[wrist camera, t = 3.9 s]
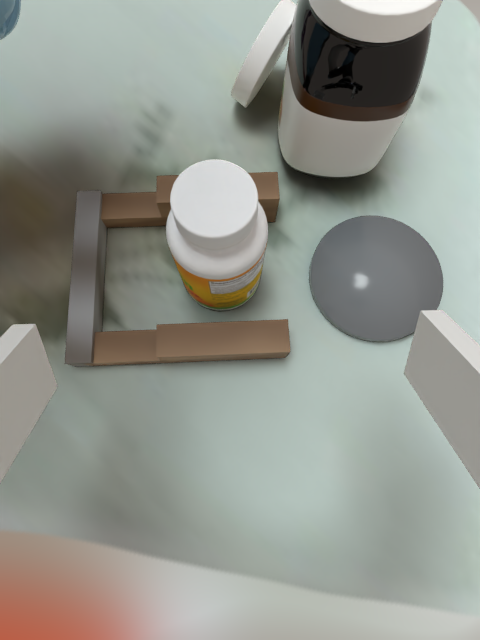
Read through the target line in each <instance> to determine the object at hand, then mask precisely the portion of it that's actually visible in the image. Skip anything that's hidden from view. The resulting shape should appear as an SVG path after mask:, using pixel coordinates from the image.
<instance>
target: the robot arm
mask: <svg viewBox="0 0 480 640" xmlns="http://www.w3.org/2000/svg"><path fill="white" fill-rule="evenodd" d="M20 7H21V0H0V40H1V39H3V38H4V37H6V36H7V35H8V34H10V33H11V32H12V30H13V29H14V28H15V26H16V24H17V22H18V19H19V14H20ZM404 375H405V376H406V378H407V379H408V381H409V382H410V384H411V385H412V387H413V388H414V390H415V391H416V393H417V394H418V396H419V397H420V399H421V400H422V402H423V404H424V405H425V407H426V408H427V410H428V411H429V413H430V414H431V416H432V417H433V419H434V420H435V422H436V423H437V425H438V426H439V428H440V429H441V431H442V432H443V434H444V435H445V437H446V438H447V440H448V441H449V443H450V444H451V446H452V447H453V449H454V451H455V452H456V454H457V455H458V457H459V458H460V460H461V461H462V463H463V464H464V466H465V467H466V469H467V470H468V472H469V473H470V475H471V476H472V478H473V479H474V481H475V482H476V484H477V485H478V487H479V488H480V345H479V344H478V343H477V342H476V341H475V340H474V339H473V338H471V337H470V336H469V335H468V334H467V333H466V332H465V331H464V330H463V329H462V328H461V327H460V326H459V325H458V324H457V323H456V322H455V321H454V320H453V319H451V318H450V317H449V316H448V315H447V314H446V313H445V312H444V311H443V310H424V311H420V314H419V318H418V322H417V325H416V329H415V333H414V337H413V340H412V344H411V348H410V352H409V355H408V359H407V363H406V367H405V370H404ZM57 387H58V385H57V382H56V379H55V377H54V374H53V371H52V368H51V365H50V363H49V360H48V357H47V354H46V351H45V349H44V346H43V343H42V340H41V337H40V335H39V332H38V329H37V326H36V324H14V325H12V326H11V327H10V328H9V329H8V330H7V331H6V332H5V333H4V334H3V335H2V336H1V337H0V483H1V482H2V480H3V478H4V477H5V475H6V473H7V471H8V470H9V468H10V466H11V465H12V463H13V461H14V460H15V458H16V456H17V455H18V453H19V451H20V450H21V448H22V446H23V445H24V443H25V441H26V439H27V438H28V436H29V434H30V433H31V431H32V429H33V428H34V426H35V424H36V423H37V421H38V419H39V418H40V416H41V414H42V413H43V411H44V409H45V407H46V406H47V404H48V402H49V401H50V399H51V397H52V396H53V394H54V392H55V391H56V389H57Z"/></svg>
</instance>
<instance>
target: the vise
mask: <svg viewBox="0 0 480 640" xmlns="http://www.w3.org/2000/svg"><path fill="white" fill-rule="evenodd" d="M248 174H249V175H250V176H251V178H252V179H253V181H254V183H255V185H256V188H257V192H258V201H259V203H260V204H261V206H262V208H263V210H264V212H265V215H266V218H267V222H275V219H276V214H277V209H278V204H279V199H280V198H279V186H278V173H277V172H262V173H248ZM178 176H179V175H168V176H157V192H141V193H110V194H102V192H101V191H100V190H98V191H77V201H76V215H75V229H74V242H73V256H72V270H71V283H70V297H69V311H68V324H67V338H66V352H65V364H68V365H72V366H75V367H79V366H103V365H126V364H150V363H173V362H197V361H220V360H244V359H267V358H285V357H286V356H287V355H288V354H289V353H290V341H289V328H288V319H285V320H261V321H236V322H211V323H186V324H161V325H157V330H133V331H109V332H102V320H103V299H104V279H105V259H106V238H107V228H114V227H143V226H166V223H167V218H168V215H169V212H170V210H171V205H170V195H171V190H172V187H173V184H174V182H175V181H176V179H177V177H178Z"/></svg>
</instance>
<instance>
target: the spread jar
mask: <svg viewBox="0 0 480 640" xmlns="http://www.w3.org/2000/svg"><path fill="white" fill-rule="evenodd" d="M442 1H443V0H298V1H297V5H295V4H294V3H293V2H292V1H291V0H281V1H280V2H279V4H278V5H277V6H276V8H275V9H274V11H273V12H272V14H271V15H270V17H269V18H268V20H267V21H266V23H265V25H264V26H263V28H262V30H261V31H260V33H259V35H258V37H257V38H256V40H255V42H254V44H253V46H252V48H251V49H250V51H249V53H248V55H247V57H246V59H245V61H244V63H243V65H242V67H241V69H240V71H239V74H238V76H237V78H236V80H235V83H234V86H233V88H232V92H231V96H232V97H233V98H234V99H235V100H237V101H238V102H239V103H240V104H242V105H243V106H244V107H247V106H248V105H249V104H250V103H251V101H252V100H253V99H254V97H255V96H256V94H257V93H258V91H259V90H260V88H261V87H262V85H263V84H264V82H265V80H266V79H267V77H268V76H269V74H270V72H271V71H272V69H273V67H274V66H275V64H276V62H277V61H278V59H279V57H280V55H281V54H282V52H283V50H284V48H285V46H286V45H287V43H288V41H289V47H288V54H287V61H286V69H285V76H284V82H283V89H282V96H281V103H280V111H279V122H278V136H279V145H280V150H281V153H282V156H283V158H284V160H285V162H286V163H287V164H288V165H289V166H290V167H291V168H293V169H294V170H296V171H298V172H301V173H304V174H307V175H310V176H314V177H319V178H328V179H339V178H349V177H355V176H359V175H362V174H364V173H367V172H369V171H370V170H372V169H373V168H374V167H375V166H376V165H377V164H378V162H379V161H380V159H381V158H382V156H383V155H384V153H385V151H386V150H387V148H388V146H389V145H390V143H391V141H392V139H393V138H394V136H395V134H396V132H397V131H398V129H399V127H400V125H401V124H402V122H403V120H404V118H405V116H406V115H407V112H408V110H409V108H410V106H411V104H412V102H413V99H414V97H415V94H416V91H417V89H418V86H419V83H420V80H421V77H422V73H423V69H424V65H425V61H426V57H427V53H428V47H429V41H430V35H431V26H432V20H433V18H434V16H435V15H436V13H437V11H438V9H439V7H440V5H441V3H442ZM289 39H290V40H289Z"/></svg>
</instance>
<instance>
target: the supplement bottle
mask: <svg viewBox="0 0 480 640" xmlns="http://www.w3.org/2000/svg"><path fill="white" fill-rule="evenodd" d="M170 205H171V210H170V212H169V215H168V218H167V223H166V237H167V242H168V245H169V249H170V251H171V253H172V256H173V258H174V261H175V263H176V266H177V269H178V271H179V273H180V276H181V278H182V280H183V283H184V285H185V288H186V290H187V291H188V293H189V294H190V296H191V297H192V298H193V299H194V300H195V301H196V302H197V303H199V304H200V305H202V306H204V307H206V308H209V309H212V310H230V309H234V308H237V307H239V306H241V305H243V304H244V303H245V302H247V301H248V300H249V299H250V298H251V297H252V296H253V294H254V293H255V291H256V289H257V287H258V285H259V282H260V278H261V273H262V267H263V261H264V255H265V250H266V245H267V239H268V224H267V218H266V215H265V212H264V210H263V208H262V206H261V204H260V203H259V201H258V192H257V188H256V185H255V183H254V181H253V179H252V178H251V176H250V175H249V174H248V173H247V172H246V171H245V170H244V169H243V168H241V167H240V166H238V165H236V164H234V163H232V162H229V161H225V160H218V159H213V160H204V161H200V162H198V163H195V164H193V165H191V166H189V167H188V168H186V169H185V170H184V171H183V172H182V173H181V174H180V175H179V176H178V177H177V179H176V181H175V182H174V184H173V187H172V190H171V195H170Z"/></svg>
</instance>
